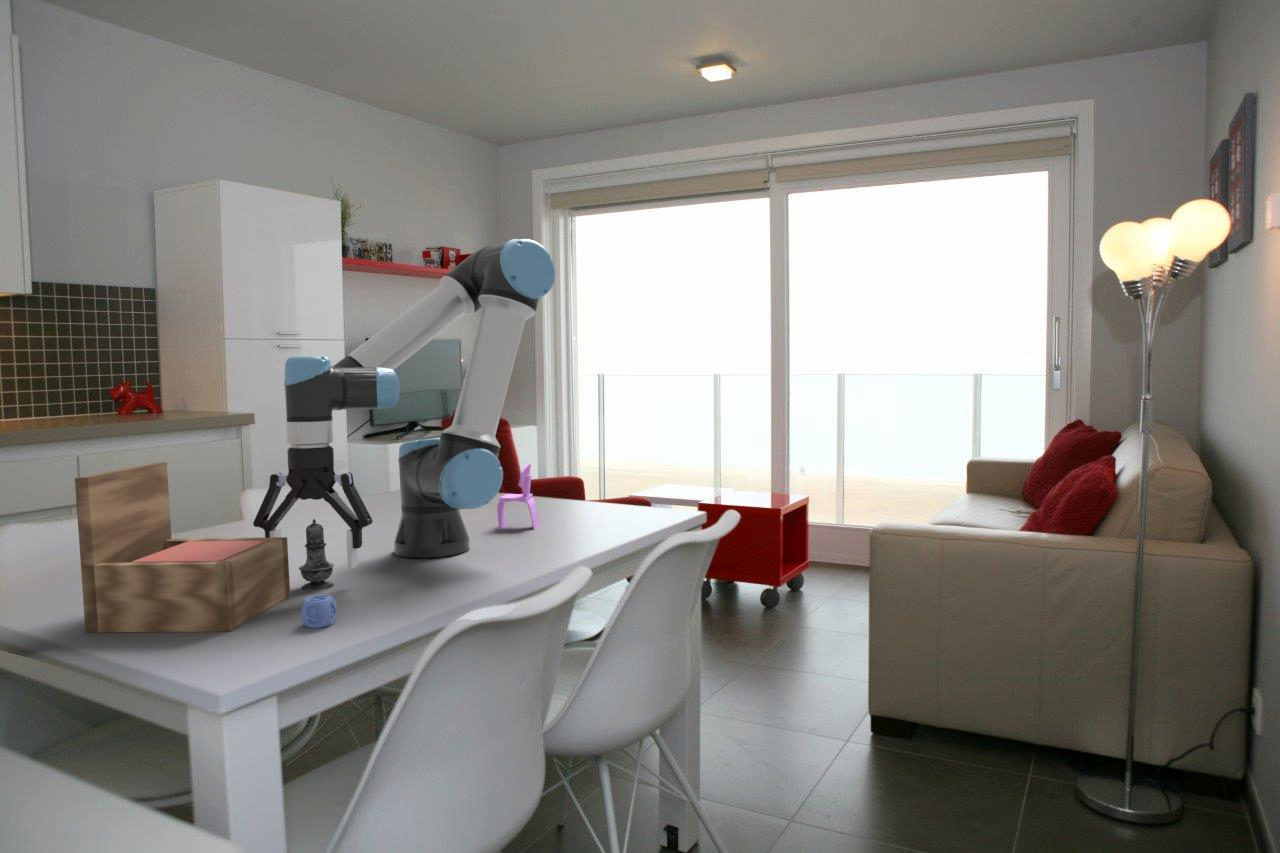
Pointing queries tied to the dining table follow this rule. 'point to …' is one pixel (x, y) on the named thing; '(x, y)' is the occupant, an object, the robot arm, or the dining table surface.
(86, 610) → the wooden box
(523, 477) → the toy chair
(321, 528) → the salt shaker
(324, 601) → the decorative dice
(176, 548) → the trapdoor
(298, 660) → the dining table surface
